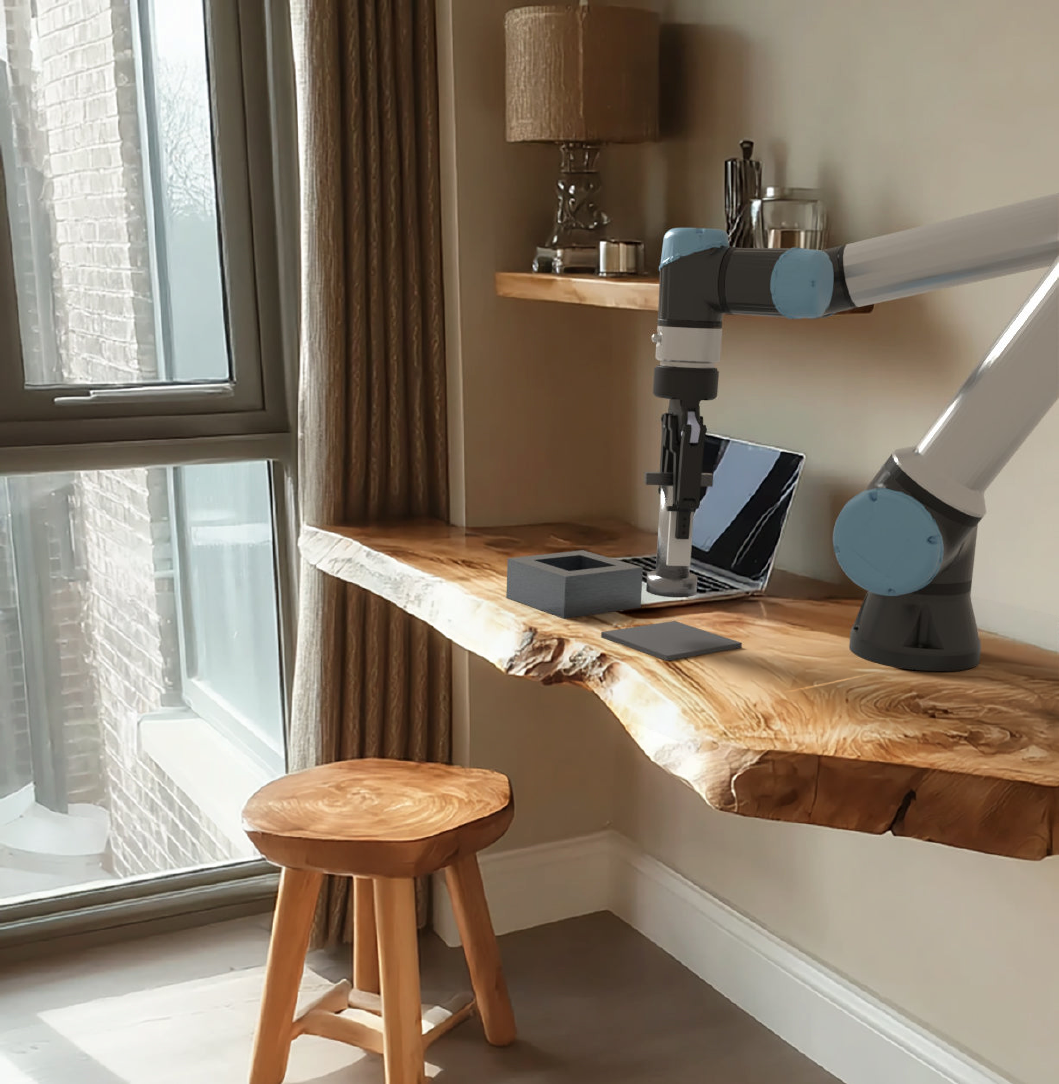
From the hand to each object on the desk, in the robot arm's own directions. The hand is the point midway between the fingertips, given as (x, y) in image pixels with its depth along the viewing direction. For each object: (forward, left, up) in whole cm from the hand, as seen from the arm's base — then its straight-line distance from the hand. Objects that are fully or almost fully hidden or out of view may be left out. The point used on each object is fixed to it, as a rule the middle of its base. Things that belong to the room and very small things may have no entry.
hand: (674, 560), depth 155 cm
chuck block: (+22, -2, -10) cm, 24 cm away
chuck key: (0, 0, -4) cm, 4 cm away
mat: (0, 0, -10) cm, 10 cm away
